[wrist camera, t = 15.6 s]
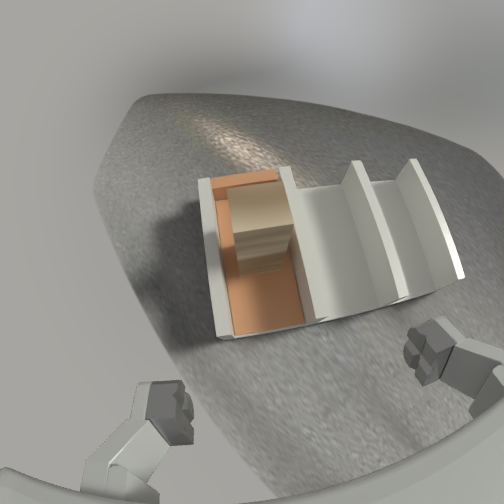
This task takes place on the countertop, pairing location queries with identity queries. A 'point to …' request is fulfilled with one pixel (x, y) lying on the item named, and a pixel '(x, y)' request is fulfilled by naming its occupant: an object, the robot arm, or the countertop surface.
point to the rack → (329, 251)
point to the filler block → (260, 226)
